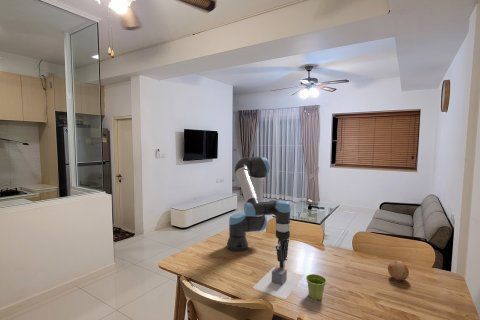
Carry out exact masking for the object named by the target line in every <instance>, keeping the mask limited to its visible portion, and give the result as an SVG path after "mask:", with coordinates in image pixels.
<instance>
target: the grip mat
mask: <svg viewBox="0 0 480 320" xmlns="http://www.w3.org/2000/svg"><path fill="white" fill-rule="evenodd" d="M276 267H277V266H273V268H271V269H270V270H269V271H268V272H267V273H266V274H265V275H264V276H263V277H262V278H261V279H260V280H259V281H257V283H256V284H255V285H254V286H253V287H252V288H253V289H255V290H258V291H261V292H263V293H266V294H268V295H271V296H274V297H277V298H279V299H281V300H287V298H288V297H289V296H290V294H291V293H292V292H293V291H294V289H295V288H296V286H297V285H298V284H299V282H300V281H301V280H302V278H303V277H304V274H300V273H297V272H295V271H291V270H287V281H286V282H285V283H284V284H283V285H279V284H276V283H272V271H273V270H274V269H275V268H276Z"/></svg>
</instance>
